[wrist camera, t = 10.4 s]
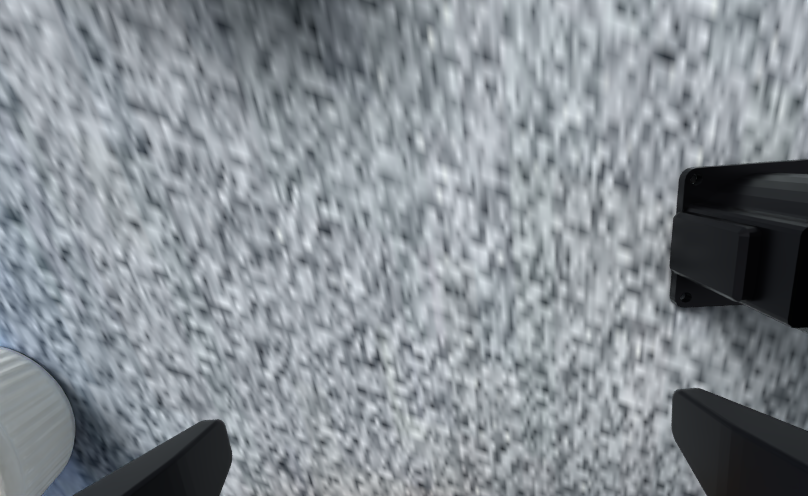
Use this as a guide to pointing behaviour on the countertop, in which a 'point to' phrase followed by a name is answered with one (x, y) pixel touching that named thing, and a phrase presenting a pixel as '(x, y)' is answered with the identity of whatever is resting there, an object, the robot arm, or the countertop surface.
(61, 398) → the ramekin
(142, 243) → the countertop surface
